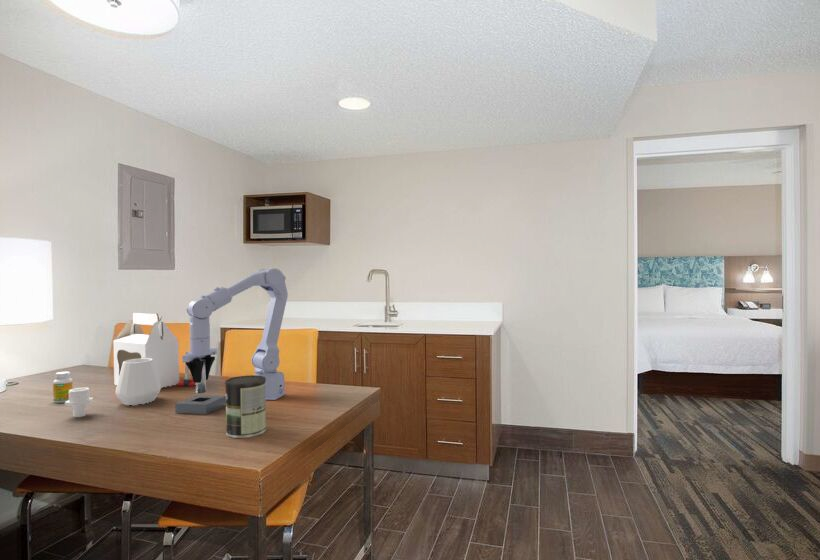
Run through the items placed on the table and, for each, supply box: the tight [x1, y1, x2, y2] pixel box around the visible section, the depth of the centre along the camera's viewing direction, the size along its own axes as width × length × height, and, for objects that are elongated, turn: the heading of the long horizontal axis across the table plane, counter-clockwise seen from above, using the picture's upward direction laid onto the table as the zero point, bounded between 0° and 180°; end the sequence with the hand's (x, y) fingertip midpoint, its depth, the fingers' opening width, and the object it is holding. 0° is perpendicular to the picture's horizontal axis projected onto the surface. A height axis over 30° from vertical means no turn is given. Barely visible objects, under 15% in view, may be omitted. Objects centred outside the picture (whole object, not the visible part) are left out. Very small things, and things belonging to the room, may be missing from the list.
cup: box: [115, 358, 162, 406], centre depth 161 cm, size 13×13×14 cm
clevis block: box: [174, 394, 226, 415], centre depth 151 cm, size 10×10×3 cm
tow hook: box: [176, 351, 196, 387], centre depth 188 cm, size 8×13×9 cm
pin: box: [195, 359, 207, 394], centre depth 151 cm, size 3×3×10 cm
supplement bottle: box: [52, 371, 74, 404], centre depth 163 cm, size 5×5×10 cm
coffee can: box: [224, 374, 267, 439], centre depth 128 cm, size 10×10×14 cm
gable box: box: [112, 312, 180, 389], centre depth 187 cm, size 22×13×28 cm, turn 59°
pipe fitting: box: [64, 387, 94, 418], centre depth 145 cm, size 6×7×8 cm
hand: (200, 381), depth 151 cm, fingers closed on pin, 3 cm apart
